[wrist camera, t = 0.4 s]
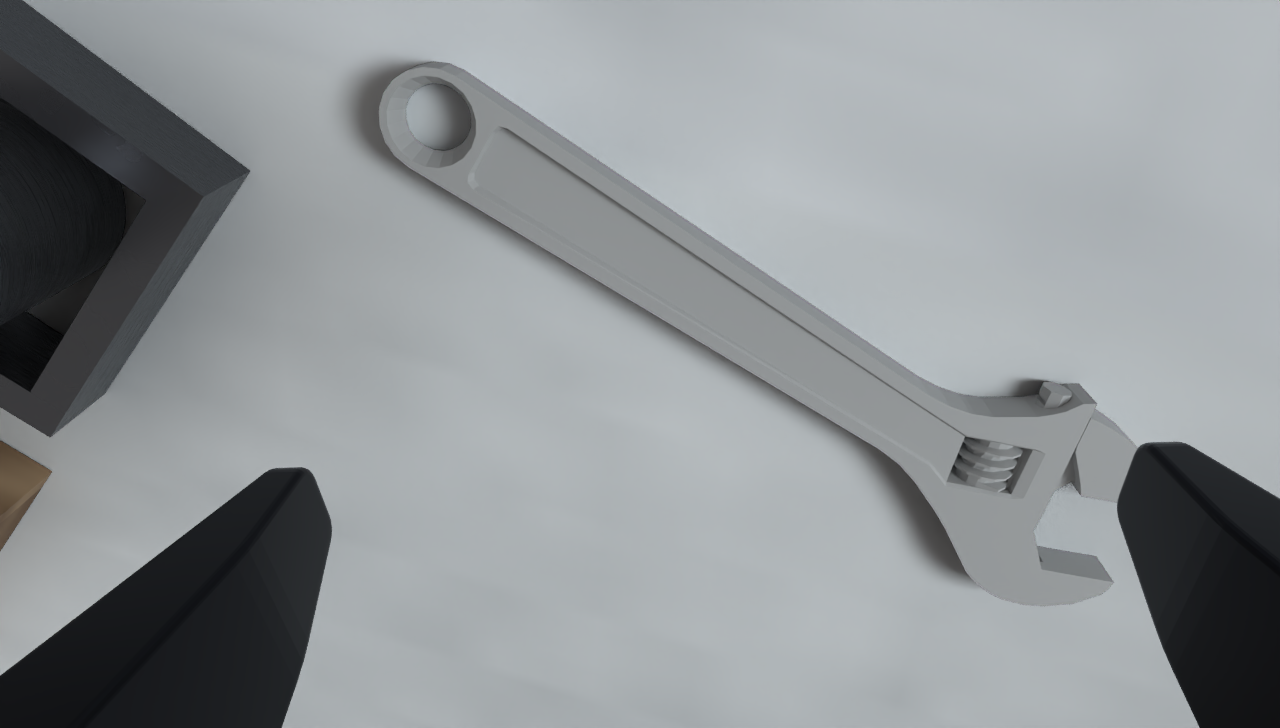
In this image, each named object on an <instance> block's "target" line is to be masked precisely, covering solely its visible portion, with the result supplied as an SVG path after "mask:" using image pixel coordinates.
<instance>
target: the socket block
mask: <svg viewBox="0 0 1280 728" xmlns="http://www.w3.org/2000/svg"><path fill="white" fill-rule="evenodd" d="M0 97H1V98H3V99H4V100H6V101H7V102H8V103H10V104H11V105H13V106H14V107H15V108H17V109H18V110H20V111H21V112H23V113H24V114H25V115H27V116H28V117H30V118H31V119H32V120H34V121H35V122H37V123H38V124H39V125H41V126H42V127H44V128H45V129H46V130H48V131H49V132H51V133H52V134H53V135H55V136H56V137H58V138H59V139H61V140H62V141H63V142H65V143H66V144H68V145H69V146H70V147H72V148H73V149H75V150H76V151H77V152H79V153H80V154H82V155H83V156H84V157H86V158H87V159H89V160H90V161H91V162H93V163H94V164H96V165H97V166H99V167H100V168H101V169H103V170H104V171H106V172H107V173H108V174H110V175H111V176H113V177H114V178H115V179H117V180H118V181H120V182H121V183H122V184H124V185H125V186H127V187H128V188H129V189H131V190H132V191H134V192H135V193H137V194H138V195H139V196H141V197H142V198H144V199H145V200H146V202H145V203H144V205H143V207H142V208H141V210H140V212H139V213H138V215H137V217H136V218H135V220H134V222H133V223H132V225H131V227H130V228H129V230H128V232H127V233H126V235H125V237H124V238H123V240H122V241H121V243H120V245H119V246H118V248H117V250H116V251H115V253H114V255H113V256H112V258H111V260H110V261H109V263H108V265H107V266H106V268H105V270H104V271H103V273H102V275H101V276H100V278H99V279H98V281H97V283H96V284H95V286H94V288H93V289H92V291H91V293H90V294H89V296H88V298H87V299H86V301H85V303H84V304H83V306H82V308H81V309H80V311H79V313H78V314H77V316H76V317H75V319H74V321H73V322H72V324H71V326H70V327H69V329H68V331H67V332H66V334H65V336H62V335H61V334H59V333H58V332H56V331H55V330H53V329H51V328H50V327H48V326H47V325H45V324H44V323H42V322H41V321H39V320H38V319H36V318H34V317H33V316H31V315H30V314H28V313H27V312H23V313H21V314H20V315H18V316H16V317H14V318H13V319H11V320H9V321H8V322H6V323H4V324H2V325H1V326H0V407H1V408H3V409H4V410H6V411H8V412H9V413H11V414H12V415H14V416H16V417H17V418H19V419H21V420H22V421H24V422H26V423H27V424H29V425H31V426H32V427H34V428H36V429H37V430H39V431H40V432H42V433H44V434H45V435H47V436H49V437H51V436H53V435H54V434H55V433H56V432H58V431H59V430H60V429H61V428H63V427H64V426H65V425H66V424H68V423H69V422H70V421H71V420H73V419H74V418H75V417H76V416H78V415H79V414H80V413H81V412H83V411H84V410H85V409H86V408H88V407H89V406H90V405H91V404H93V403H94V402H95V401H96V400H98V399H99V398H100V397H101V396H103V395H104V394H105V393H106V391H107V389H108V388H109V386H110V385H111V383H112V382H113V380H114V379H115V377H116V376H117V374H118V373H119V371H120V370H121V368H122V367H123V365H124V363H125V362H126V360H127V359H128V357H129V356H130V354H131V353H132V351H133V350H134V348H135V347H136V345H137V344H138V342H139V341H140V339H141V338H142V336H143V334H144V333H145V331H146V330H147V328H148V327H149V325H150V324H151V322H152V321H153V319H154V318H155V316H156V315H157V313H158V312H159V310H160V308H161V307H162V305H163V304H164V302H165V301H166V299H167V298H168V296H169V295H170V293H171V292H172V290H173V289H174V287H175V286H176V284H177V282H178V281H179V279H180V278H181V276H182V275H183V273H184V272H185V270H186V269H187V267H188V266H189V264H190V263H191V261H192V260H193V258H194V257H195V255H196V253H197V252H198V250H199V249H200V247H201V246H202V244H203V243H204V241H205V240H206V238H207V237H208V235H209V234H210V232H211V231H212V229H213V227H214V226H215V224H216V223H217V221H218V220H219V218H220V217H221V215H222V214H223V212H224V211H225V209H226V208H227V206H228V205H229V203H230V201H231V200H232V198H233V197H234V195H235V194H236V192H237V191H238V189H239V188H240V186H241V185H242V183H243V182H244V180H245V179H246V177H247V175H248V174H249V172H250V170H248V169H247V168H246V167H244V166H243V165H242V164H240V163H239V162H238V161H236V160H235V159H234V158H232V157H231V156H230V155H228V154H227V153H226V152H224V151H223V150H222V149H220V148H219V147H218V146H216V145H215V144H214V143H212V142H211V141H210V140H208V139H207V138H206V137H204V136H203V135H202V134H200V133H199V132H198V131H196V130H195V129H194V128H192V127H191V126H190V125H188V124H187V123H186V122H184V121H183V120H181V119H180V118H179V117H177V116H176V115H175V114H173V113H172V112H171V111H169V110H168V109H167V108H165V107H164V106H163V105H161V104H160V103H159V102H157V101H156V100H155V99H153V98H152V97H151V96H149V95H148V94H147V93H145V92H144V91H143V90H141V89H140V88H139V87H137V86H136V85H135V84H133V83H132V82H131V81H129V80H128V79H127V78H125V77H124V76H123V75H121V74H120V73H119V72H117V71H116V70H115V69H113V68H112V67H111V66H109V65H108V64H107V63H105V62H104V61H103V60H101V59H100V58H99V57H97V56H96V55H95V54H93V53H92V52H91V51H89V50H88V49H87V48H85V47H84V46H83V45H81V44H80V43H79V42H77V41H76V40H75V39H73V38H72V37H71V36H69V35H68V34H67V33H65V32H64V31H63V30H61V29H60V28H59V27H57V26H56V25H54V24H53V23H52V22H50V21H49V20H48V19H46V18H45V17H44V16H42V15H41V14H40V13H38V12H37V11H36V10H34V9H33V8H32V7H30V6H29V5H28V4H26V3H25V2H24V1H22V0H0Z"/></svg>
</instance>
